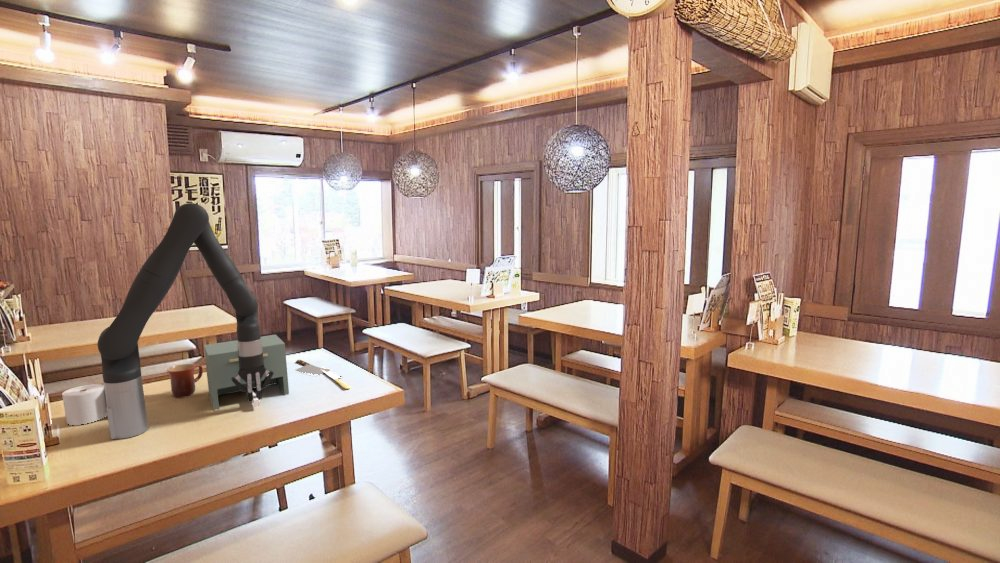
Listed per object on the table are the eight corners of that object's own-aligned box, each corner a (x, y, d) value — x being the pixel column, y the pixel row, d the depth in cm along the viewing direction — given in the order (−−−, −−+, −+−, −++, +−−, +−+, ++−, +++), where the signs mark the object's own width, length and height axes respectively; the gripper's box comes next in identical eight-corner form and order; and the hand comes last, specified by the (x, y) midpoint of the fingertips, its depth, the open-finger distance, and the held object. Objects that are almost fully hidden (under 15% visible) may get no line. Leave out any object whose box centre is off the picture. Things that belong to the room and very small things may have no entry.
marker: (250, 395, 184) (258, 407, 171) (244, 393, 183) (251, 405, 170) (253, 388, 185) (261, 400, 172) (247, 386, 183) (255, 398, 170)
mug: (179, 400, 181) (176, 372, 179) (164, 396, 185) (161, 369, 183) (211, 389, 191) (208, 363, 190) (196, 386, 195) (193, 360, 194)
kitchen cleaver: (282, 364, 218) (304, 358, 225) (282, 367, 218) (304, 360, 225) (309, 377, 202) (332, 370, 209) (309, 380, 202) (332, 372, 209)
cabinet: (214, 410, 172) (208, 355, 169) (209, 395, 185) (203, 345, 182) (289, 394, 185) (285, 343, 182) (279, 381, 198) (275, 334, 195)
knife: (328, 364, 217) (317, 365, 214) (356, 385, 190) (343, 387, 187) (328, 367, 217) (316, 368, 214) (355, 389, 190) (343, 390, 187)
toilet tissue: (70, 416, 168) (65, 387, 167) (115, 409, 174) (111, 381, 173) (63, 428, 159) (58, 398, 158) (110, 420, 165) (106, 390, 164)
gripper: (229, 358, 164) (234, 409, 167) (274, 351, 172) (278, 400, 174) (226, 353, 170) (231, 402, 173) (269, 346, 178) (274, 393, 181)
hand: (254, 401), depth 174 cm, fingers closed on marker, 1 cm apart
